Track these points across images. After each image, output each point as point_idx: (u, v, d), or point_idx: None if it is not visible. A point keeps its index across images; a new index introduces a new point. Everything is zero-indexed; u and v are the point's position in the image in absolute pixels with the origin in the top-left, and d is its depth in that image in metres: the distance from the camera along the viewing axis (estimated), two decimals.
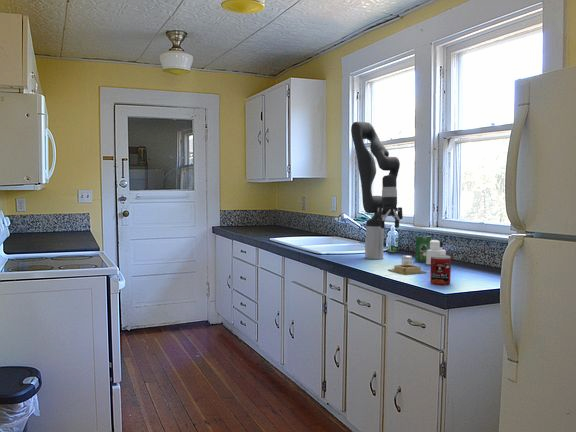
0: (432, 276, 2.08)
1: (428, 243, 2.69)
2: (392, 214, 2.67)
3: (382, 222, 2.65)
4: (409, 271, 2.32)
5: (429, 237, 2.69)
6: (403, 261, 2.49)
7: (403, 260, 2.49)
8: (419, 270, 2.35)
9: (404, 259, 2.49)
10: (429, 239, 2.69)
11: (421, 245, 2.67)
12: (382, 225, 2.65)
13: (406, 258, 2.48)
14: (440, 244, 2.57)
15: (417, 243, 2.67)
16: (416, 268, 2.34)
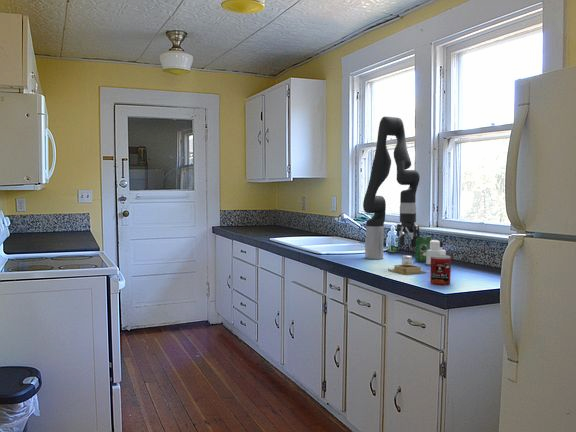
0: (432, 276, 2.08)
1: (428, 243, 2.69)
2: None
3: (415, 241, 2.46)
4: (409, 271, 2.32)
5: (429, 237, 2.69)
6: (403, 261, 2.49)
7: (403, 260, 2.49)
8: (419, 270, 2.35)
9: (404, 259, 2.49)
10: (429, 239, 2.69)
11: (421, 245, 2.67)
12: (415, 244, 2.46)
13: (406, 258, 2.48)
14: (440, 244, 2.57)
15: (417, 243, 2.67)
16: (416, 268, 2.34)
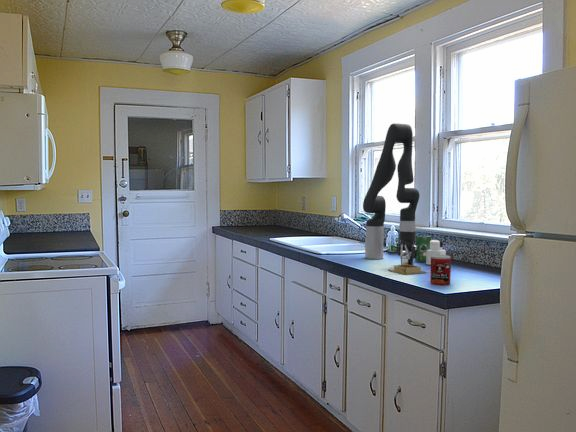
0: (432, 276, 2.08)
1: (428, 243, 2.69)
2: None
3: (412, 260, 2.48)
4: (409, 271, 2.32)
5: (429, 237, 2.69)
6: (403, 261, 2.49)
7: (403, 260, 2.49)
8: (419, 270, 2.35)
9: (404, 259, 2.49)
10: (429, 239, 2.69)
11: (421, 245, 2.67)
12: (412, 263, 2.48)
13: (406, 258, 2.48)
14: (440, 244, 2.57)
15: (417, 243, 2.67)
16: (416, 268, 2.34)
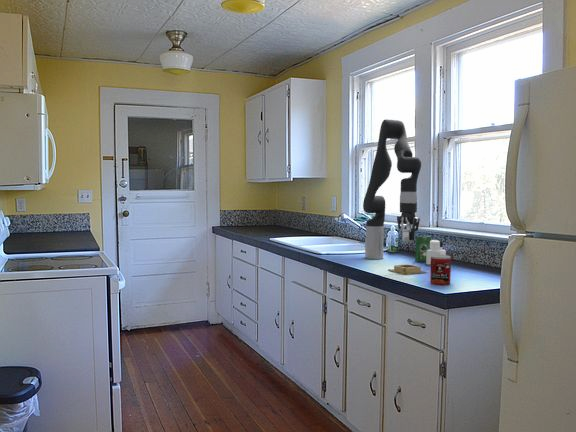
0: (432, 276, 2.08)
1: (428, 243, 2.69)
2: None
3: (413, 233, 2.34)
4: (409, 271, 2.32)
5: (429, 237, 2.69)
6: (404, 234, 2.35)
7: (404, 233, 2.35)
8: (419, 270, 2.35)
9: (405, 232, 2.35)
10: (429, 239, 2.69)
11: (421, 245, 2.67)
12: (413, 237, 2.34)
13: (407, 231, 2.34)
14: (440, 244, 2.57)
15: (417, 243, 2.67)
16: (416, 268, 2.34)
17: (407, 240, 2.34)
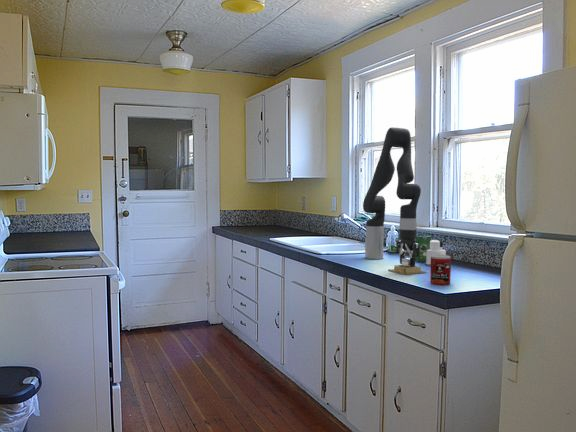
0: (432, 276, 2.08)
1: (428, 243, 2.69)
2: None
3: (414, 259, 2.33)
4: (409, 271, 2.32)
5: (429, 237, 2.69)
6: (403, 264, 2.36)
7: (403, 263, 2.36)
8: (419, 270, 2.35)
9: (404, 262, 2.35)
10: (429, 239, 2.69)
11: (421, 245, 2.67)
12: (414, 263, 2.34)
13: (406, 261, 2.35)
14: (440, 244, 2.57)
15: (417, 243, 2.67)
16: (416, 268, 2.34)
17: None
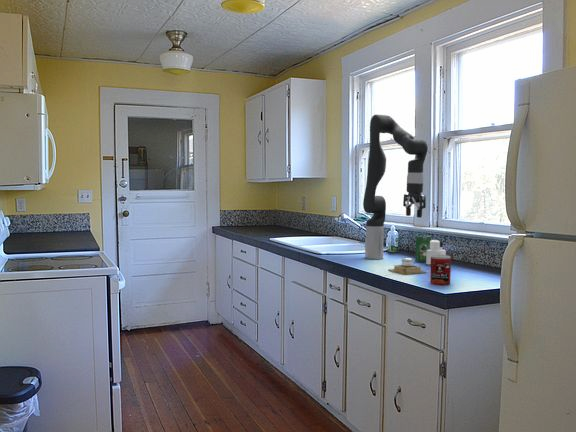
0: (432, 276, 2.08)
1: (428, 243, 2.69)
2: None
3: (421, 211, 2.46)
4: (409, 271, 2.32)
5: (429, 237, 2.69)
6: (403, 264, 2.36)
7: (403, 263, 2.36)
8: (419, 270, 2.35)
9: (404, 262, 2.35)
10: (429, 239, 2.69)
11: (421, 245, 2.67)
12: (421, 214, 2.46)
13: (406, 261, 2.35)
14: (440, 244, 2.57)
15: (417, 243, 2.67)
16: (416, 268, 2.34)
17: None
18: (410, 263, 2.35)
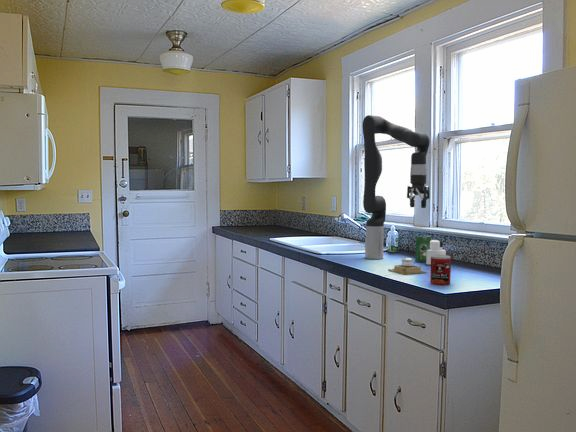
0: (432, 276, 2.08)
1: (428, 243, 2.69)
2: None
3: (425, 201, 2.52)
4: (409, 271, 2.32)
5: (429, 237, 2.69)
6: (403, 264, 2.36)
7: (403, 263, 2.36)
8: (419, 270, 2.35)
9: (404, 262, 2.35)
10: (429, 239, 2.69)
11: (421, 245, 2.67)
12: (425, 204, 2.52)
13: (406, 261, 2.35)
14: (440, 244, 2.57)
15: (417, 243, 2.67)
16: (416, 268, 2.34)
17: None
18: (410, 263, 2.35)
